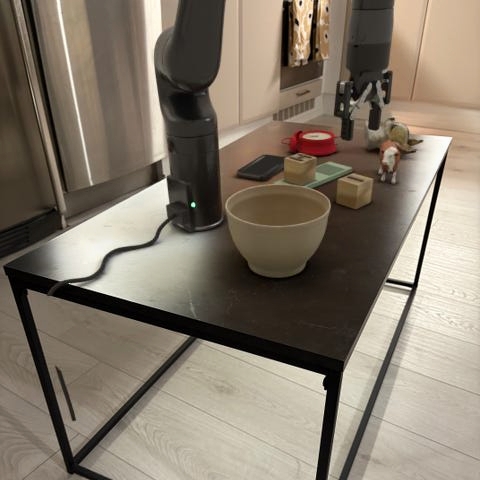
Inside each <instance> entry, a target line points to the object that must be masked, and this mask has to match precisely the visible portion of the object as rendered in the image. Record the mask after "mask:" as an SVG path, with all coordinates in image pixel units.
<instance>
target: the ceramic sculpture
mask: <svg viewBox="0 0 480 480" xmlns="http://www.w3.org/2000/svg"><path fill="white" fill-rule="evenodd" d="M368 121H369V119H365V120H364V122H363V137H364V140H365V144H366V148H367V150H368V151H372V150H374V149H380V148H381V145H382V144H383V143H384V142H386V141H387V140H390V141H392V142H393V143H394V144H395V145H396V147H397V149H398V151H399V153H400V154H401V155H400V156H403V155H405V156H406V155H409V154H415V153H416V152H417V150H416V149H414V148H412V147H414V146H416V145H419V144H422V143H424V139H416V138H413V137H411V136H410V129H409V127H408V126H407V125H406V124H405V123H403V122H396V118H395V117H388V118H386V119H384V120H383V121H382V122H380V127H379V130H376V131H374V130H369V129H368Z"/></svg>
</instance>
